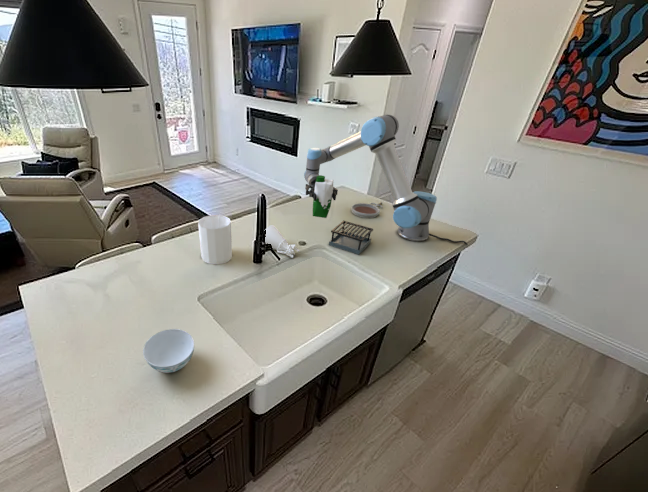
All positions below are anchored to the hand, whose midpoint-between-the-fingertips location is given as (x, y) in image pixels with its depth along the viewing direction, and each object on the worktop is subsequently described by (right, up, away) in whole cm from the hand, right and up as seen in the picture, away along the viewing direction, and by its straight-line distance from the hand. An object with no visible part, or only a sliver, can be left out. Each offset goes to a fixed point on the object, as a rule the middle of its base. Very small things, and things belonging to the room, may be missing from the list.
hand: (325, 197), depth 162 cm
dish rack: (+13, -22, +5) cm, 26 cm away
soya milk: (0, -7, +10) cm, 12 cm away
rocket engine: (-24, -27, -2) cm, 36 cm away
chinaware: (-60, -65, -59) cm, 107 cm away
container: (-53, -29, -6) cm, 61 cm away
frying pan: (+36, +1, +40) cm, 54 cm away
